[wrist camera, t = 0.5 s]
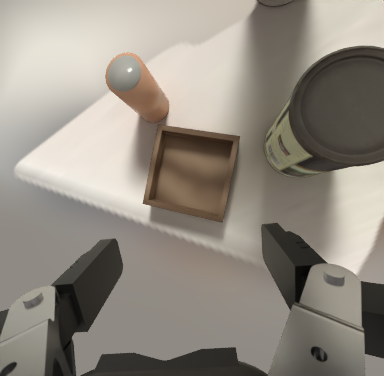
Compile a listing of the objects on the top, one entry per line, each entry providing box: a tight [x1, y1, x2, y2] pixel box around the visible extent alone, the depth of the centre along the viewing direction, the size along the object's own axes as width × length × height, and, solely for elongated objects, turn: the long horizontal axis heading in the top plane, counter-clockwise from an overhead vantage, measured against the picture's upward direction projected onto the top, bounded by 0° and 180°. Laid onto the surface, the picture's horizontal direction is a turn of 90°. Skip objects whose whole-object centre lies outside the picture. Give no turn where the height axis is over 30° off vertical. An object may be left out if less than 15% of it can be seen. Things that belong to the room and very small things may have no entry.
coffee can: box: [264, 46, 384, 178], centre depth 23 cm, size 10×10×14 cm
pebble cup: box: [106, 53, 169, 123], centre depth 30 cm, size 6×6×10 cm
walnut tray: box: [143, 125, 240, 222], centre depth 31 cm, size 13×13×4 cm
